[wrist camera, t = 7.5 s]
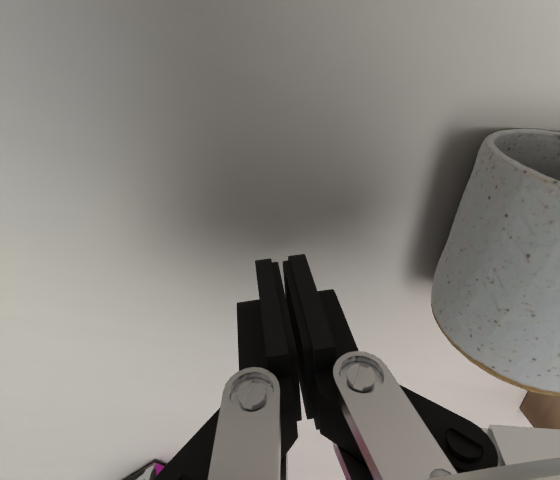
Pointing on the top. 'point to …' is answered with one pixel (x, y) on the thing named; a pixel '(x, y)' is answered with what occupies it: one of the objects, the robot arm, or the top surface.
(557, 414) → the walnut board
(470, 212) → the ceramic mug
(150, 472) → the candy bar box
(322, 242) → the top surface
